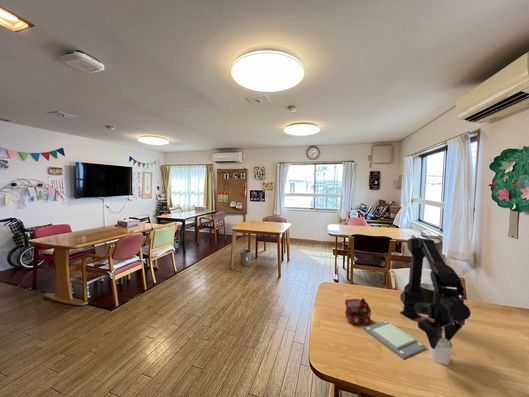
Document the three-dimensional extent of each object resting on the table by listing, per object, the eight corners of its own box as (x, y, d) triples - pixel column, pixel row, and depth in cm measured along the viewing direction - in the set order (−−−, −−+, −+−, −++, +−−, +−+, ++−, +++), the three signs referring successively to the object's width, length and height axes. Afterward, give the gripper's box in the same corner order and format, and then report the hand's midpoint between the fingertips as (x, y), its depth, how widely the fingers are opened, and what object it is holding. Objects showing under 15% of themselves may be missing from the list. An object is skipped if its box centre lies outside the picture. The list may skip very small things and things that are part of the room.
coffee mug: (418, 298, 125) (419, 281, 125) (437, 303, 120) (438, 286, 120) (418, 307, 116) (419, 289, 115) (439, 313, 111) (440, 294, 110)
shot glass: (423, 351, 85) (424, 334, 84) (439, 351, 85) (440, 333, 85) (438, 366, 78) (440, 347, 77) (456, 365, 78) (457, 346, 78)
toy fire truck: (374, 324, 101) (375, 302, 101) (348, 325, 100) (349, 303, 99) (365, 315, 108) (366, 295, 107) (341, 316, 107) (342, 296, 106)
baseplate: (385, 322, 103) (385, 318, 103) (426, 348, 87) (426, 344, 86) (363, 329, 97) (363, 325, 97) (403, 359, 81) (403, 354, 81)
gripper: (433, 289, 92) (431, 325, 93) (404, 298, 84) (402, 337, 85) (467, 303, 81) (463, 343, 82) (437, 314, 74) (434, 358, 75)
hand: (440, 344), depth 81 cm, fingers open, 9 cm apart
